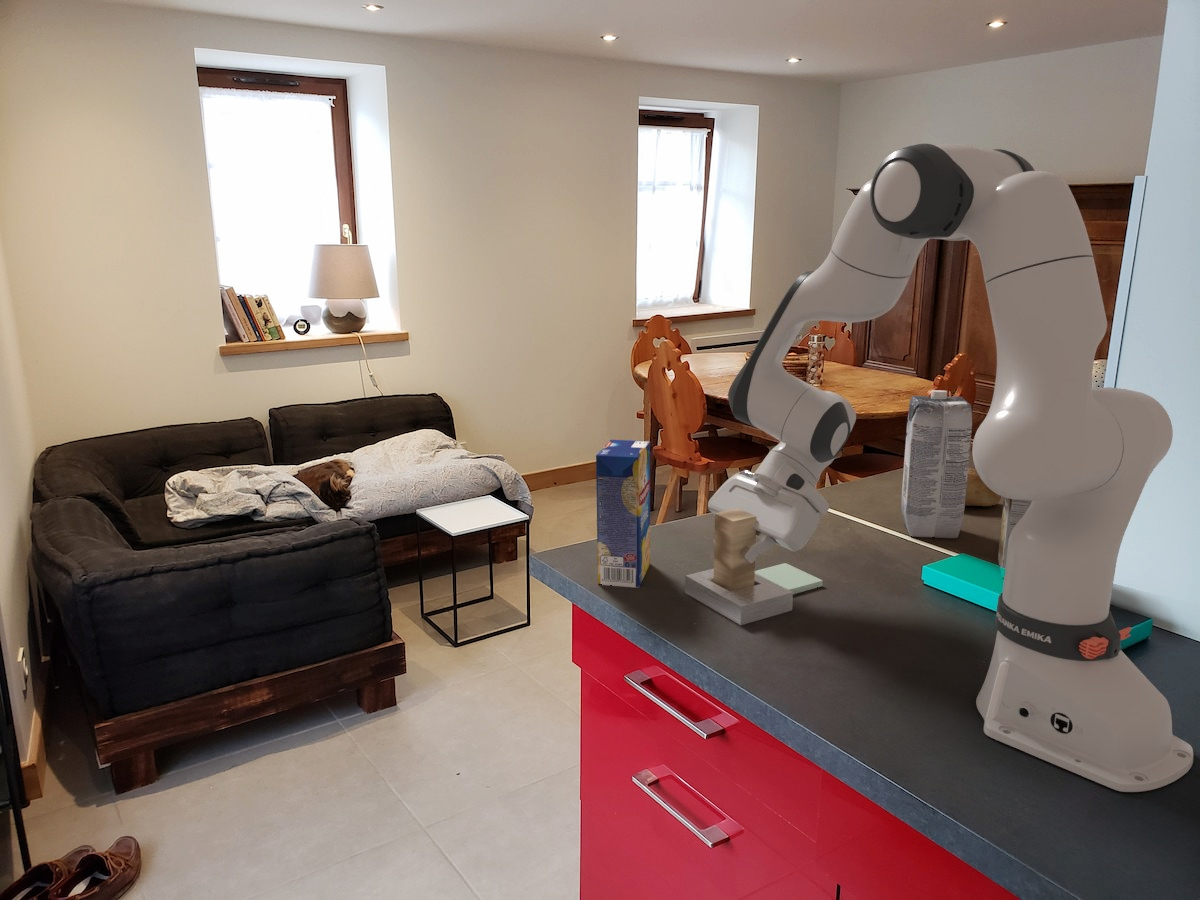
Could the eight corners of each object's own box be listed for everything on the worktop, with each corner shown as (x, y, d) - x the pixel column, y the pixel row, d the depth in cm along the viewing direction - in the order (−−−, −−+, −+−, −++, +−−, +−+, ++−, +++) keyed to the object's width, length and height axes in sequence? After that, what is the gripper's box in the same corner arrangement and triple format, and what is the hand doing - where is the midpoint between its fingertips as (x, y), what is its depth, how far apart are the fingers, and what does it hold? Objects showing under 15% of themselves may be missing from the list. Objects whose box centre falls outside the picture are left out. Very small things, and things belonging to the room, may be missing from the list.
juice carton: (964, 541, 164) (978, 397, 157) (905, 539, 166) (916, 396, 159) (953, 525, 173) (966, 388, 166) (897, 523, 174) (907, 387, 168)
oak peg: (753, 601, 140) (756, 516, 136) (730, 607, 137) (733, 521, 134) (735, 591, 143) (737, 508, 140) (713, 597, 141) (714, 513, 138)
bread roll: (1005, 514, 179) (1009, 476, 177) (927, 510, 182) (930, 473, 180) (994, 500, 188) (998, 463, 186) (920, 497, 191) (923, 461, 189)
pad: (822, 586, 145) (822, 580, 145) (780, 598, 141) (780, 592, 140) (785, 568, 152) (785, 563, 152) (743, 579, 148) (743, 573, 148)
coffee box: (996, 559, 155) (1005, 470, 151) (1036, 563, 153) (1046, 473, 149) (1000, 579, 147) (1010, 485, 143) (1043, 583, 145) (1054, 488, 141)
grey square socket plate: (792, 610, 136) (792, 592, 135) (740, 625, 131) (740, 606, 130) (734, 580, 148) (735, 563, 147) (685, 592, 143) (685, 575, 142)
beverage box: (650, 563, 156) (650, 441, 150) (638, 588, 145) (638, 457, 140) (611, 560, 157) (610, 439, 152) (597, 584, 147) (595, 455, 141)
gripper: (730, 456, 148) (681, 523, 145) (817, 486, 130) (763, 562, 128) (750, 478, 151) (702, 544, 148) (838, 510, 134) (785, 585, 131)
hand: (731, 552), depth 138 cm, fingers open, 5 cm apart
